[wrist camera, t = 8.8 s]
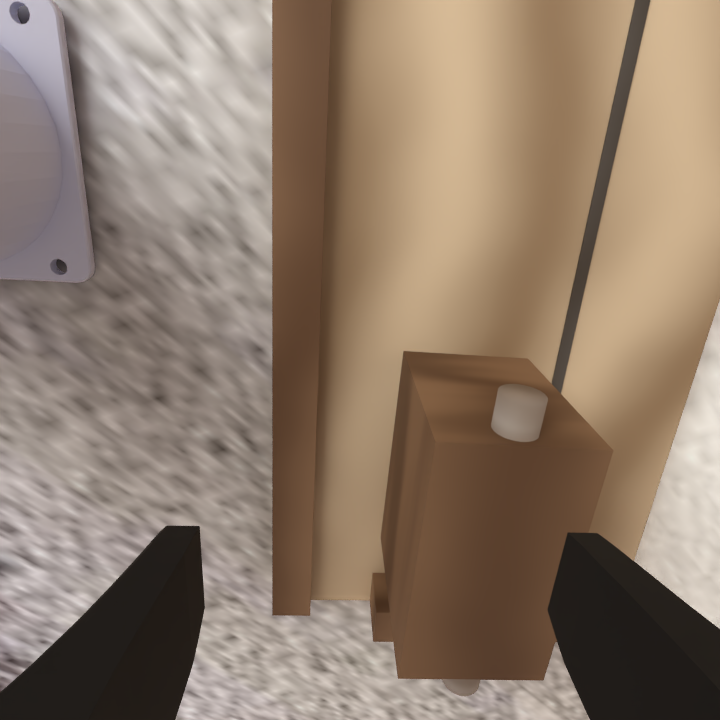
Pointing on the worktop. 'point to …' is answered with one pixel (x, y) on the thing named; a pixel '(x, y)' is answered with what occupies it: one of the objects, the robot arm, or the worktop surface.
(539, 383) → the block with white pegs
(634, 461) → the board
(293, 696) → the worktop surface
